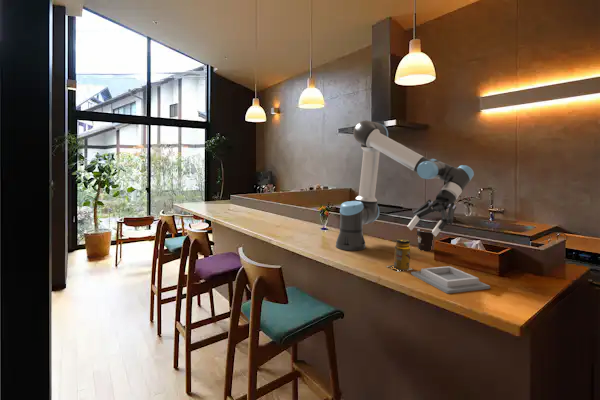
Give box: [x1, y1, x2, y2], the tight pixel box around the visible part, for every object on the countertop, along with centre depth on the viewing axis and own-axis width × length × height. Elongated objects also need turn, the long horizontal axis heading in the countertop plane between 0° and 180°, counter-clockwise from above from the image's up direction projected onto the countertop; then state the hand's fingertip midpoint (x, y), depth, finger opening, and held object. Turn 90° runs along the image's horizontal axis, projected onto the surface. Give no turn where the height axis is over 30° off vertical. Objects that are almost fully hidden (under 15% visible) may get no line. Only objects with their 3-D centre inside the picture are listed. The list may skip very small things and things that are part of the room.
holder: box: [410, 265, 491, 294], centre depth 123 cm, size 20×18×3 cm
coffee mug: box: [416, 228, 433, 252], centre depth 170 cm, size 12×9×10 cm
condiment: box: [386, 238, 414, 272], centre depth 137 cm, size 7×8×12 cm
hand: (420, 231), depth 140 cm, fingers open, 13 cm apart
